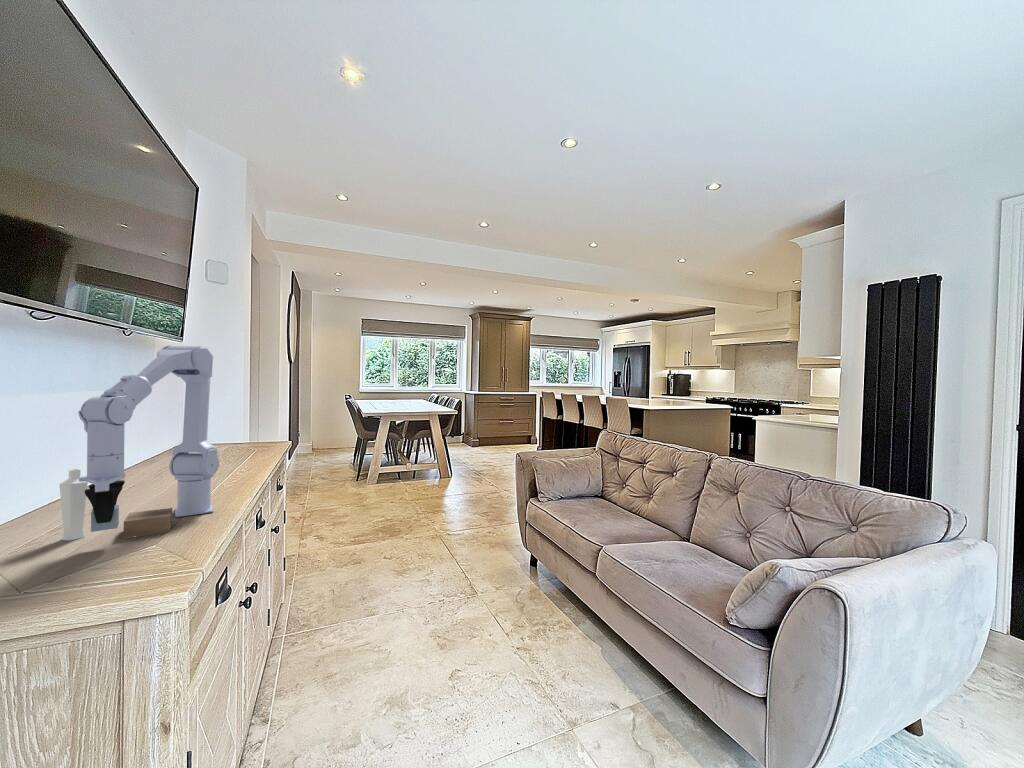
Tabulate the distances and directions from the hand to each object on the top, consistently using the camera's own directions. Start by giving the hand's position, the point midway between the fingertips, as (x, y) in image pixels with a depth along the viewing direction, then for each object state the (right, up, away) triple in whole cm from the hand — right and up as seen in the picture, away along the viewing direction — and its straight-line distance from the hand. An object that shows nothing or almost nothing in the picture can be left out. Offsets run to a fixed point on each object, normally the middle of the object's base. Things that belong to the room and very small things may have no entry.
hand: (105, 519), depth 92 cm
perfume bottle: (-12, -6, +5) cm, 14 cm away
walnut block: (+1, -6, +10) cm, 12 cm away
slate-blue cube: (0, -2, 0) cm, 2 cm away
